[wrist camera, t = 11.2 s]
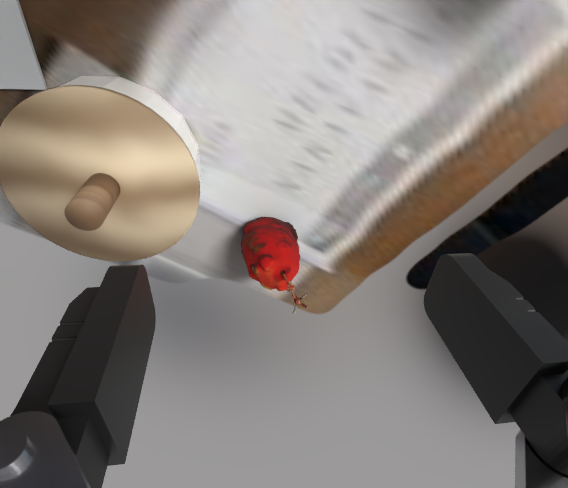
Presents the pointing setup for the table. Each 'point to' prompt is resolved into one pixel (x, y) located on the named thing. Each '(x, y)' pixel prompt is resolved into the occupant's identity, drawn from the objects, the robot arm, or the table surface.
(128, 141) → the lid
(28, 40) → the mat
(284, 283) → the red clay folk toy
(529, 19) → the table surface
